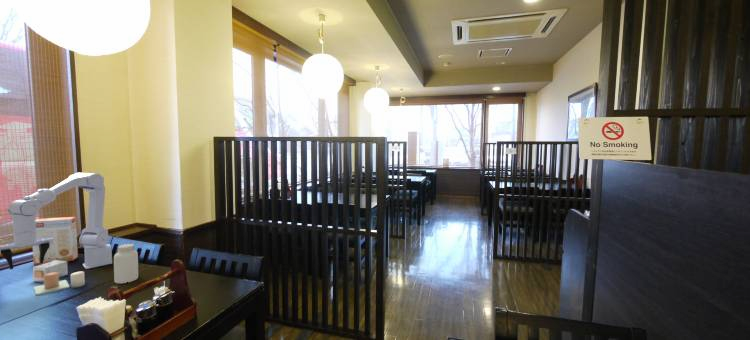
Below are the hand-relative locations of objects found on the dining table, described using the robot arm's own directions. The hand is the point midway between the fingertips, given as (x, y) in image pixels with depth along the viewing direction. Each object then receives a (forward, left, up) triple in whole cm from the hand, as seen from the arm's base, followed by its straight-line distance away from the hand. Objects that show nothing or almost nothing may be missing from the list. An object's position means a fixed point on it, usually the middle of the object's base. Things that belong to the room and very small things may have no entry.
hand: (26, 265), depth 119 cm
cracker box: (-11, -33, -10) cm, 36 cm away
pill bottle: (-27, +16, -10) cm, 33 cm away
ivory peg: (-13, +8, -10) cm, 18 cm away
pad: (-6, +4, -10) cm, 12 cm away
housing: (-7, -9, -10) cm, 15 cm away
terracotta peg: (-6, +4, -9) cm, 12 cm away
